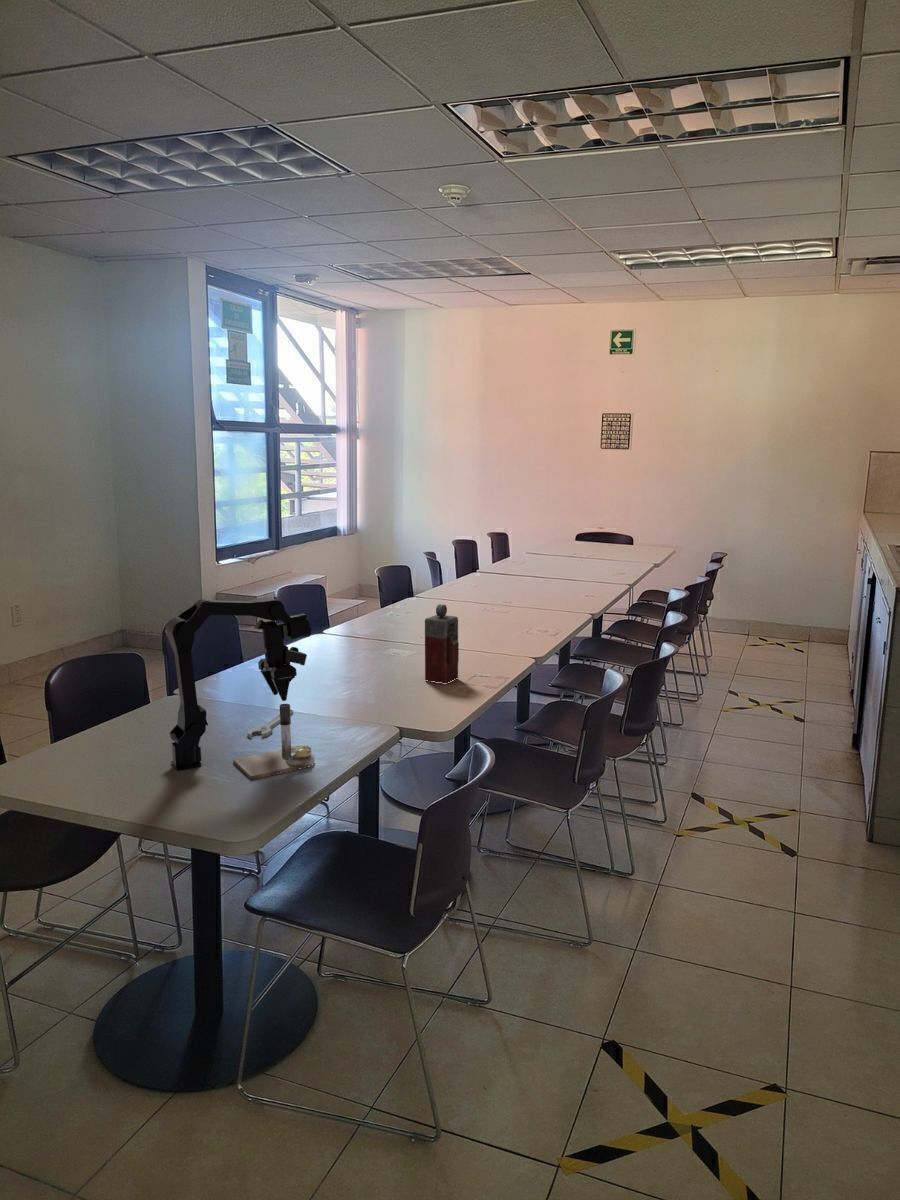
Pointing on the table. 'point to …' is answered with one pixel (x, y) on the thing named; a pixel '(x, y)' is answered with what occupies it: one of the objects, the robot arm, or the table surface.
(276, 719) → the adjustable wrench
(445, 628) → the knobbed red-grey post
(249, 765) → the brown wooden board
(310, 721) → the table surface
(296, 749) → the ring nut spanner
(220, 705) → the table surface
